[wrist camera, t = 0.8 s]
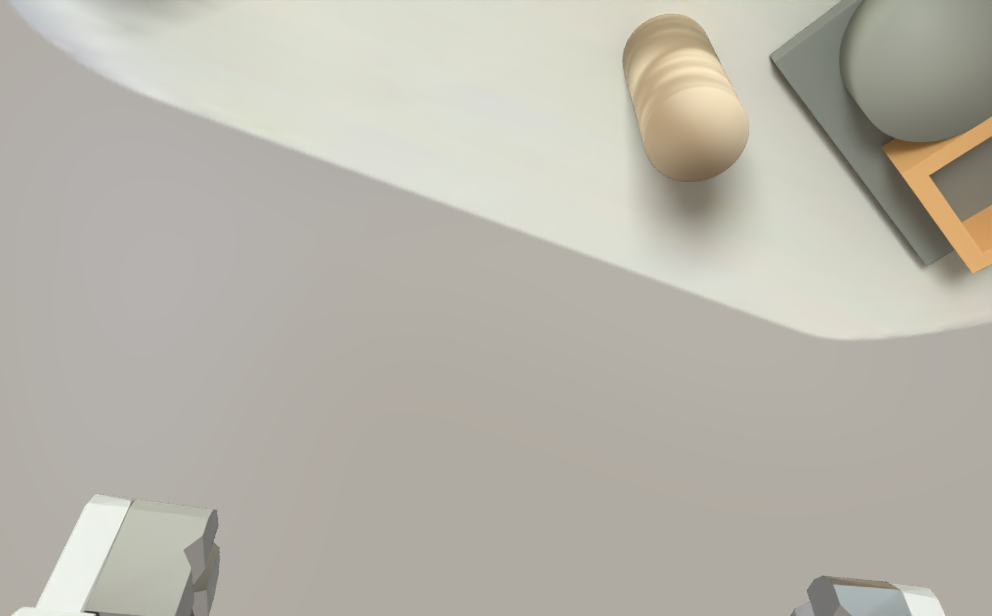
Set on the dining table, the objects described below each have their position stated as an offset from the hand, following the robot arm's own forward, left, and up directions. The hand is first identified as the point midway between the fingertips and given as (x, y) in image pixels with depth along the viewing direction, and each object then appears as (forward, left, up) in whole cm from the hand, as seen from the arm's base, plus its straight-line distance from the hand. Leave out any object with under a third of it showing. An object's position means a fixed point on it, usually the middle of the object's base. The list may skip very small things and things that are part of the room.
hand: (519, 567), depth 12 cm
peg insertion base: (-11, +23, -36) cm, 44 cm away
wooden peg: (-1, +11, -36) cm, 38 cm away
